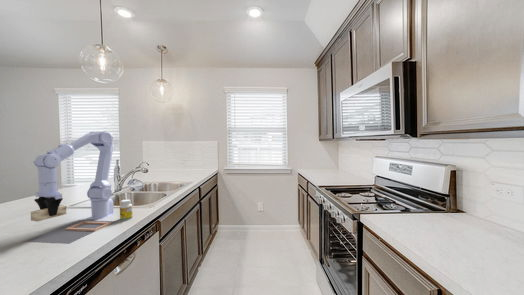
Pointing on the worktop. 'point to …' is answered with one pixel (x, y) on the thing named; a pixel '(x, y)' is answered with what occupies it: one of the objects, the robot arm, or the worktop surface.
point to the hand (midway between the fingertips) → (49, 214)
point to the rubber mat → (66, 233)
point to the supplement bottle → (126, 210)
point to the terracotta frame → (88, 228)
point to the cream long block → (46, 214)
